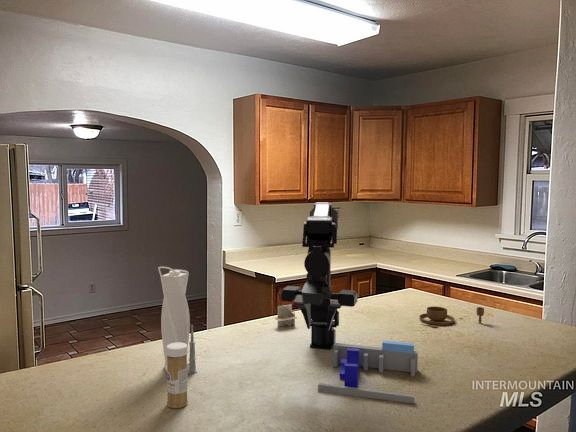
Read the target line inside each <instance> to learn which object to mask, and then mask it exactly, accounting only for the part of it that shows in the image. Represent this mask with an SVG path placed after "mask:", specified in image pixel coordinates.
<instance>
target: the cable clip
mask: <svg viewBox="0 0 576 432" xmlns="http://www.w3.org/2000/svg"><path fill="white" fill-rule="evenodd" d="M359 367H360V366H359V349H351V348H347V359H341V364H340V367H339V368H340V371H339V380H344V382H343V383H344V385H343V386H347V387H354V388H358V385H359V383H358V382H359V374H358V373H359V372H360V370H359V369H360V368H359Z"/></svg>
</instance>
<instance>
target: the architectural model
mask: <svg viewBox="0 0 576 432" xmlns="http://www.w3.org/2000/svg"><path fill="white" fill-rule="evenodd" d="M296 319H297V317H296V312H295V311H294V312H293V304H292V303H291V304H290V303H289V304H285V305H278V306H277V317H274V320H277V327H278V328H279V327H284V326H285V327H286V326H288V327H291V325H292V326H295V325H296Z"/></svg>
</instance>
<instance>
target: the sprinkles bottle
mask: <svg viewBox="0 0 576 432" xmlns="http://www.w3.org/2000/svg"><path fill="white" fill-rule="evenodd" d="M188 348H189V347H188ZM188 348H187V344H185V343H181V342H177V343H171V344H169V345H167V347H166V355H167V373H166V375H167V377H166V378H167V379H166V386H167V387H166V390H167V391H166V392H167V403H166V405H167V407H168V408H170V409H181V408H183V407H186V406H187V405H188V403H189V401H188V375H187V364H188V357H187V356H188V353H189V350H188Z"/></svg>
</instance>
